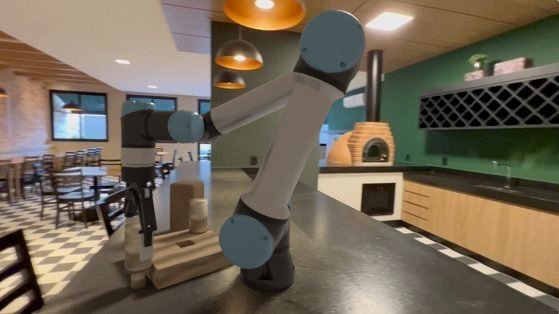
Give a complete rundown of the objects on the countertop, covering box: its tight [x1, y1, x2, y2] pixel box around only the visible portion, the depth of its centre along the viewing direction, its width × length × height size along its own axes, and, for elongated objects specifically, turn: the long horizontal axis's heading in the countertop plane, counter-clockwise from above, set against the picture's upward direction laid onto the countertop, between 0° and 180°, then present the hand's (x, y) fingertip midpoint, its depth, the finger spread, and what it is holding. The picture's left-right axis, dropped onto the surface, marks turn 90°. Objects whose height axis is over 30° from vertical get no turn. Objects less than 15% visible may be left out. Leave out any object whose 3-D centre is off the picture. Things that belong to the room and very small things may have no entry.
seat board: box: [146, 198, 234, 290], centre depth 83 cm, size 24×24×16 cm
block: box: [169, 179, 205, 233], centre depth 108 cm, size 10×10×20 cm
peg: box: [124, 220, 152, 290], centre depth 68 cm, size 6×6×16 cm
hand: (138, 249), depth 68 cm, fingers open, 13 cm apart
